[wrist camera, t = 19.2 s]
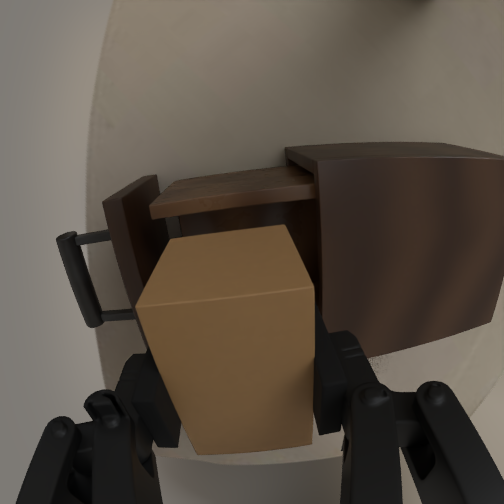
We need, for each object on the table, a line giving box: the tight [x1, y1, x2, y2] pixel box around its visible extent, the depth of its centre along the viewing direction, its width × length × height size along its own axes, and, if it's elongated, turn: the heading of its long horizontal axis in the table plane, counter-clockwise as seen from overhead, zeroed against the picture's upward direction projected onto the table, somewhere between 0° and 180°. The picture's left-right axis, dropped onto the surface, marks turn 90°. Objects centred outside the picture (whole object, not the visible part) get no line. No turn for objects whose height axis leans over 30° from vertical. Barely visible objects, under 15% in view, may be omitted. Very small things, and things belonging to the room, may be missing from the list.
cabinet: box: [285, 142, 504, 358], centre depth 21 cm, size 15×13×10 cm
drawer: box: [56, 165, 319, 348], centre depth 21 cm, size 19×11×8 cm, turn 97°
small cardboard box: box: [135, 225, 315, 455], centre depth 12 cm, size 8×5×6 cm, turn 7°
